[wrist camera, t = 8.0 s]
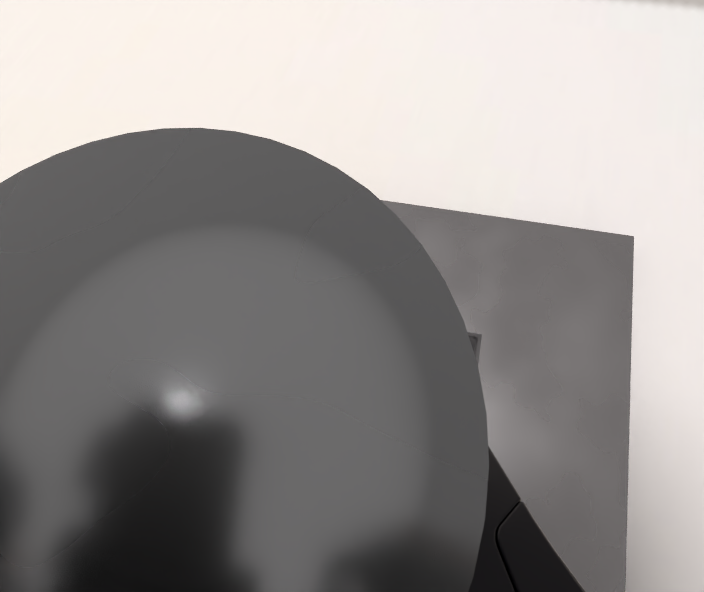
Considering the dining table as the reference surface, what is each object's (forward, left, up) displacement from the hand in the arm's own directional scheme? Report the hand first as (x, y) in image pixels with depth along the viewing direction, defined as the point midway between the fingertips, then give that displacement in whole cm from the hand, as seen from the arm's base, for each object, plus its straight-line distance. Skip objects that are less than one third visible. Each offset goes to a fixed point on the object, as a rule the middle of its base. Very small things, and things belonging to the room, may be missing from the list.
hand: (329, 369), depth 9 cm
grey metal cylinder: (-1, 0, -7) cm, 7 cm away
